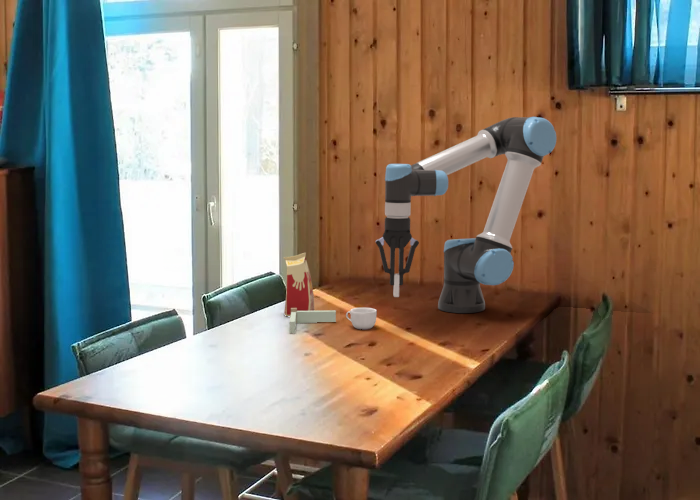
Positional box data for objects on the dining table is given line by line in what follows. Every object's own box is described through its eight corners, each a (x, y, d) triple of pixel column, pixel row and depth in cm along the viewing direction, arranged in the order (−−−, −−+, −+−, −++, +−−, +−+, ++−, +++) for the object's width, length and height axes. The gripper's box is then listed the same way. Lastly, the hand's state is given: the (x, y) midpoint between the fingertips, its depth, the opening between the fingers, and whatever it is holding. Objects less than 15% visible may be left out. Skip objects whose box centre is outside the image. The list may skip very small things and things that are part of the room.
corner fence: (335, 321, 274) (335, 307, 274) (336, 333, 259) (336, 318, 259) (291, 321, 274) (290, 307, 273) (289, 333, 259) (289, 318, 258)
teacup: (381, 327, 267) (381, 309, 266) (368, 332, 260) (368, 314, 260) (353, 323, 272) (353, 305, 271) (339, 328, 266) (339, 310, 265)
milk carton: (314, 311, 289) (314, 250, 286) (310, 317, 280) (309, 254, 277) (286, 311, 290) (285, 250, 287) (281, 317, 280) (280, 254, 278)
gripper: (418, 215, 266) (416, 293, 269) (374, 215, 265) (373, 293, 269) (421, 218, 258) (419, 298, 262) (376, 217, 258) (374, 298, 261)
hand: (396, 296), depth 265 cm, fingers closed
